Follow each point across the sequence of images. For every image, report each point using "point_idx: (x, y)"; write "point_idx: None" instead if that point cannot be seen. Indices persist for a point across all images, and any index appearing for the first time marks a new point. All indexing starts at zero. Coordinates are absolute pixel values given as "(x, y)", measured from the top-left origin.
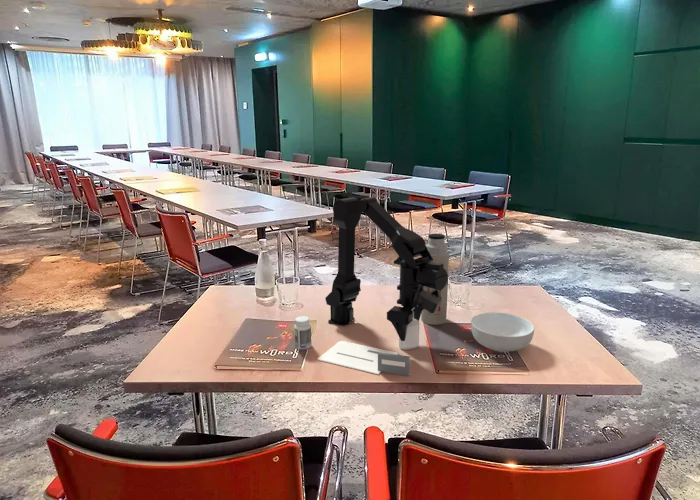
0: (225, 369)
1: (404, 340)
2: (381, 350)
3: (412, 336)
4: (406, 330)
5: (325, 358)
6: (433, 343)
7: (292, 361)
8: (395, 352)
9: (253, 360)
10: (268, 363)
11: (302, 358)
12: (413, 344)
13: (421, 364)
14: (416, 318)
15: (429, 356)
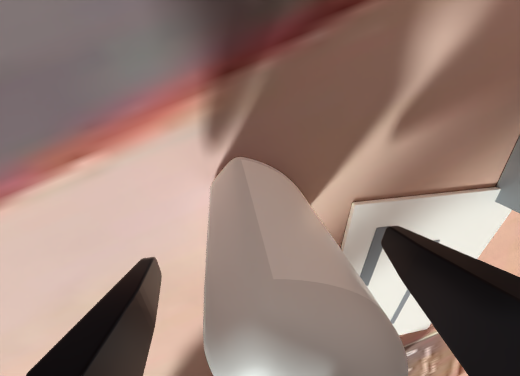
0: (460, 370)
1: (402, 227)
2: (349, 260)
3: (312, 216)
4: (515, 287)
5: (423, 321)
6: (122, 84)
7: (432, 344)
8: (352, 215)
9: (430, 371)
10: (441, 357)
11: (418, 342)
12: (284, 180)
13: (447, 48)
14: (104, 373)
15: (337, 35)
